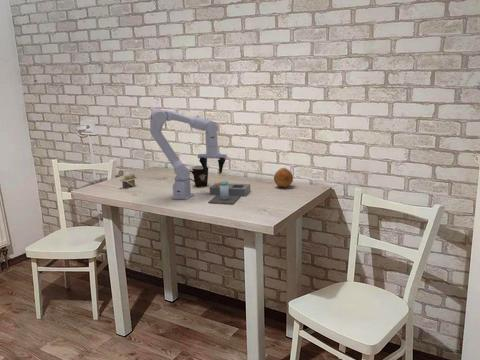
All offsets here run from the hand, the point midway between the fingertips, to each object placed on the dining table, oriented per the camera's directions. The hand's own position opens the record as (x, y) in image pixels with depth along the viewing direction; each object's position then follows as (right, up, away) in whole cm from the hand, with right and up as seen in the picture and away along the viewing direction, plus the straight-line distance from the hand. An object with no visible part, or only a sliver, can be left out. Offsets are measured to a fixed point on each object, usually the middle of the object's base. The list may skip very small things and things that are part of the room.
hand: (213, 172), depth 225 cm
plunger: (+3, -9, +3) cm, 10 cm away
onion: (+36, -7, +10) cm, 38 cm away
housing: (+8, -10, +2) cm, 13 cm away
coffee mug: (-9, -7, +18) cm, 21 cm away
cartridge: (+6, -12, -10) cm, 17 cm away
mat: (+6, -13, -10) cm, 18 cm away
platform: (-46, -8, +20) cm, 51 cm away
